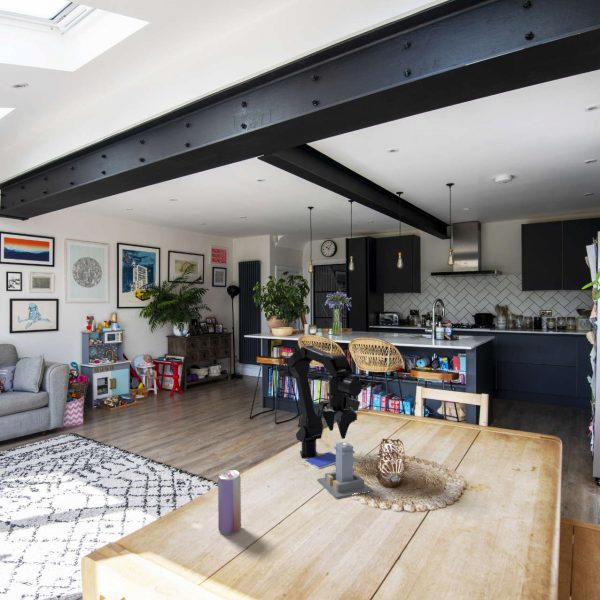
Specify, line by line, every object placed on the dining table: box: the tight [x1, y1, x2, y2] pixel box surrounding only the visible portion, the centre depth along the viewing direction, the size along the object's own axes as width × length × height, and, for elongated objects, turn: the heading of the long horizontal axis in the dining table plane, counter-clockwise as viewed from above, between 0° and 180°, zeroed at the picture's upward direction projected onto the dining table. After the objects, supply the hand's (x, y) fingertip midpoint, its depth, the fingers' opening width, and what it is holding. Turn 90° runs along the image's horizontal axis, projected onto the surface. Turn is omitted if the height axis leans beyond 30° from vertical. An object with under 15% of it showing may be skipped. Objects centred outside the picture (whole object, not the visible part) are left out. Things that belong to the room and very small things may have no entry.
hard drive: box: [304, 451, 336, 470], centre depth 163 cm, size 2×8×12 cm
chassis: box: [316, 471, 374, 500], centre depth 142 cm, size 14×13×3 cm
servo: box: [333, 441, 356, 483], centre depth 142 cm, size 7×4×14 cm, turn 22°
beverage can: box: [217, 469, 242, 536], centre depth 116 cm, size 6×6×15 cm
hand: (337, 434), depth 154 cm, fingers open, 9 cm apart
